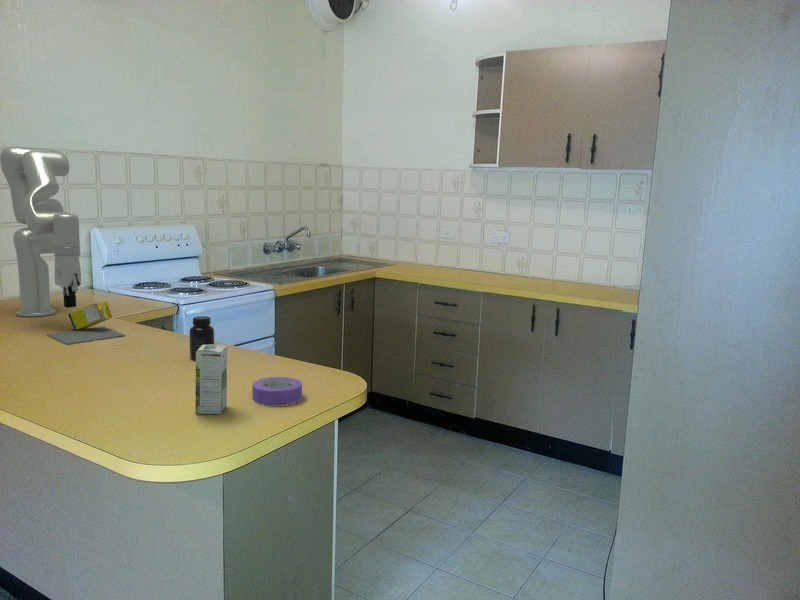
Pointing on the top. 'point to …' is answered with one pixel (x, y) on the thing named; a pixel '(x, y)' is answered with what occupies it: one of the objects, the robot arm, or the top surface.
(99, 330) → the mat
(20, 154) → the robot arm
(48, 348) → the top surface
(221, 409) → the syrup box
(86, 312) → the supplement box
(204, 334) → the supplement bottle
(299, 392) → the masking tape
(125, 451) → the top surface
